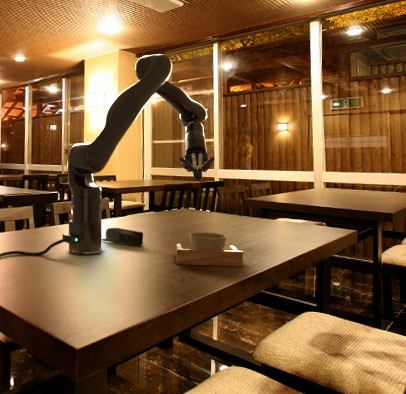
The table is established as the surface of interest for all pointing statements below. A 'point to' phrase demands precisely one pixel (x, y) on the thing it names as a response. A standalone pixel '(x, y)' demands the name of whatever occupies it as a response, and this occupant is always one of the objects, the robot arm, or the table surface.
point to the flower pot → (207, 241)
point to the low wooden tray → (209, 256)
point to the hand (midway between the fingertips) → (198, 178)
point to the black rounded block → (124, 236)
